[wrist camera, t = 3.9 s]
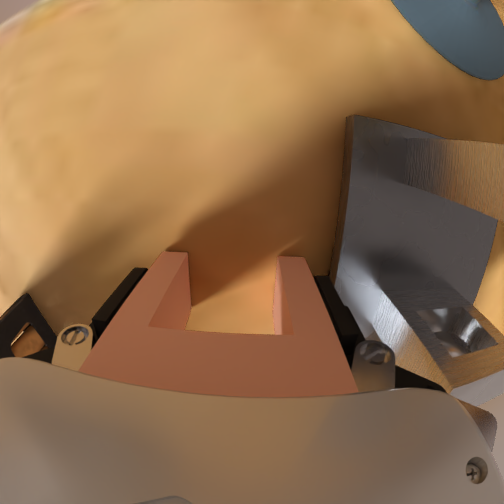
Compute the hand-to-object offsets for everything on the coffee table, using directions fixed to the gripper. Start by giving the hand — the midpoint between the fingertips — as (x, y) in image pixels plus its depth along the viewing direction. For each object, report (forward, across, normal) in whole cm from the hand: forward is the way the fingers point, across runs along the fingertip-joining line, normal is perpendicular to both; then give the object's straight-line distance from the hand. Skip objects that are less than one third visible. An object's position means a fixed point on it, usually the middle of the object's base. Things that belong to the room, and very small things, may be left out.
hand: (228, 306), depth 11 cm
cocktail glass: (+2, -12, -18) cm, 21 cm away
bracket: (+2, -10, -2) cm, 10 cm away
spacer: (+2, 0, 0) cm, 2 cm away
